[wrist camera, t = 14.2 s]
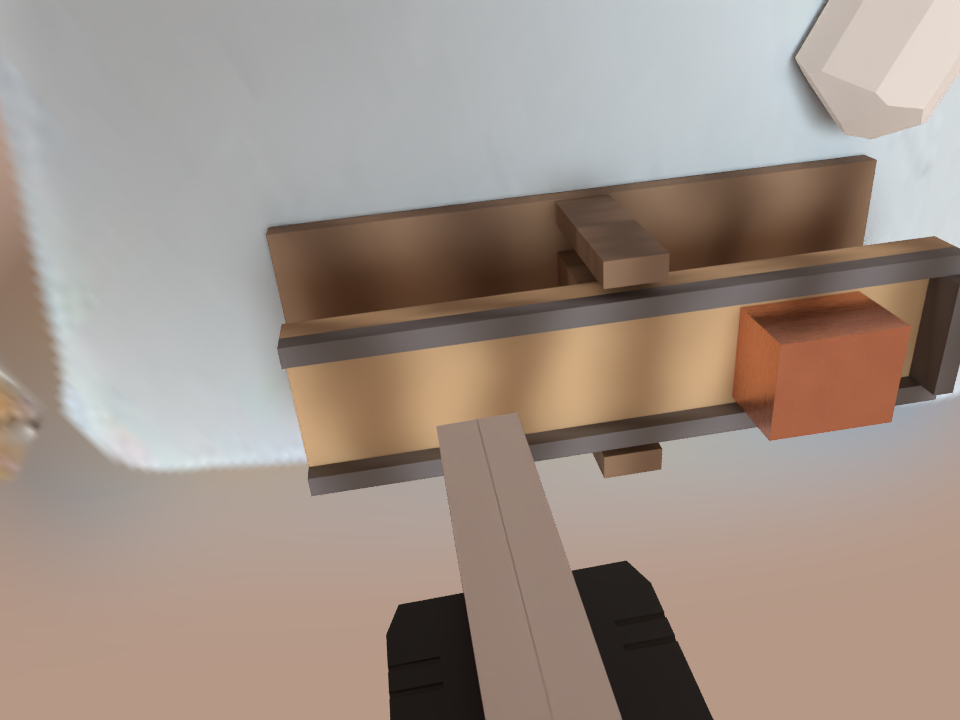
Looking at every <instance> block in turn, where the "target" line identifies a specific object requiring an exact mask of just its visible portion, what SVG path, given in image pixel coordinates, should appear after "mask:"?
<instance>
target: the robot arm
mask: <svg viewBox="0 0 960 720" xmlns="http://www.w3.org/2000/svg"><path fill="white" fill-rule="evenodd" d="M436 429H437V435H438V441H439V447H440V453H441V460H442V466H443V472H444V478H445V485H446V491H447V497H448V503H449V509H450V516H451V522H452V528H453V534H454V540H455V546H456V552H457V558H458V564H459V570H460V576H461V582H462V588H463V593H460V594H455V595H449V596H444V597H438V598H433V599H428V600H423V601H417V602H412V603H406V604H401V605H399V606H398V608H397V610H396V613H395V615H394V617H393V620H392V622H391V625H390V627H389V630H388V632H387V635H386V638H387V659H388V670H389V673H388V678H389V694H390V720H713V718H712V716H711V714H710V711H709V709H708V707H707V705H706V703H705V701H704V698H703V696H702V694H701V692H700V689H699V687H698V685H697V683H696V681H695V679H694V676H693V674H692V672H691V670H690V668H689V665H688V663H687V661H686V659H685V657H684V654H683V652H682V650H681V648H680V646H679V644H678V642H677V641H676V639H675V635H674V633H673V630H672V628H671V626H670V624H669V622H668V619H667V618H666V617H665V615H664V611H663V609H662V606H661V604H660V602H659V600H658V598H657V595H656V593H655V591H654V589H653V587H652V584H651V583H650V582H649V581H648V580H647V579H646V578H645V577H644V576H643V575H642V574H640V573H639V572H638V571H637V570H636V569H635V568H634V567H633V566H631V564H630V563H628V562H627V561H622V562H616V563H611V564H606V565H600V566H596V567H589V568H584V569H579V570H574V571H571V569H570V566H569V562H568V560H567V557H566V554H565V551H564V548H563V545H562V542H561V539H560V536H559V533H558V530H557V527H556V524H555V522H554V519H553V516H552V513H551V510H550V507H549V504H548V501H547V498H546V495H545V492H544V490H543V487H542V483H541V481H540V478H539V475H538V472H537V469H536V466H535V463H534V460H533V457H532V454H531V451H530V448H529V445H528V442H527V439H526V437H525V434H524V431H523V428H522V425H521V422H520V419H519V416H518V413H511V414H505V415H499V416H493V417H488V418H482V419H476V420H470V421H464V422H458V423H452V424H446V425H440V426H436Z"/></svg>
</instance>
